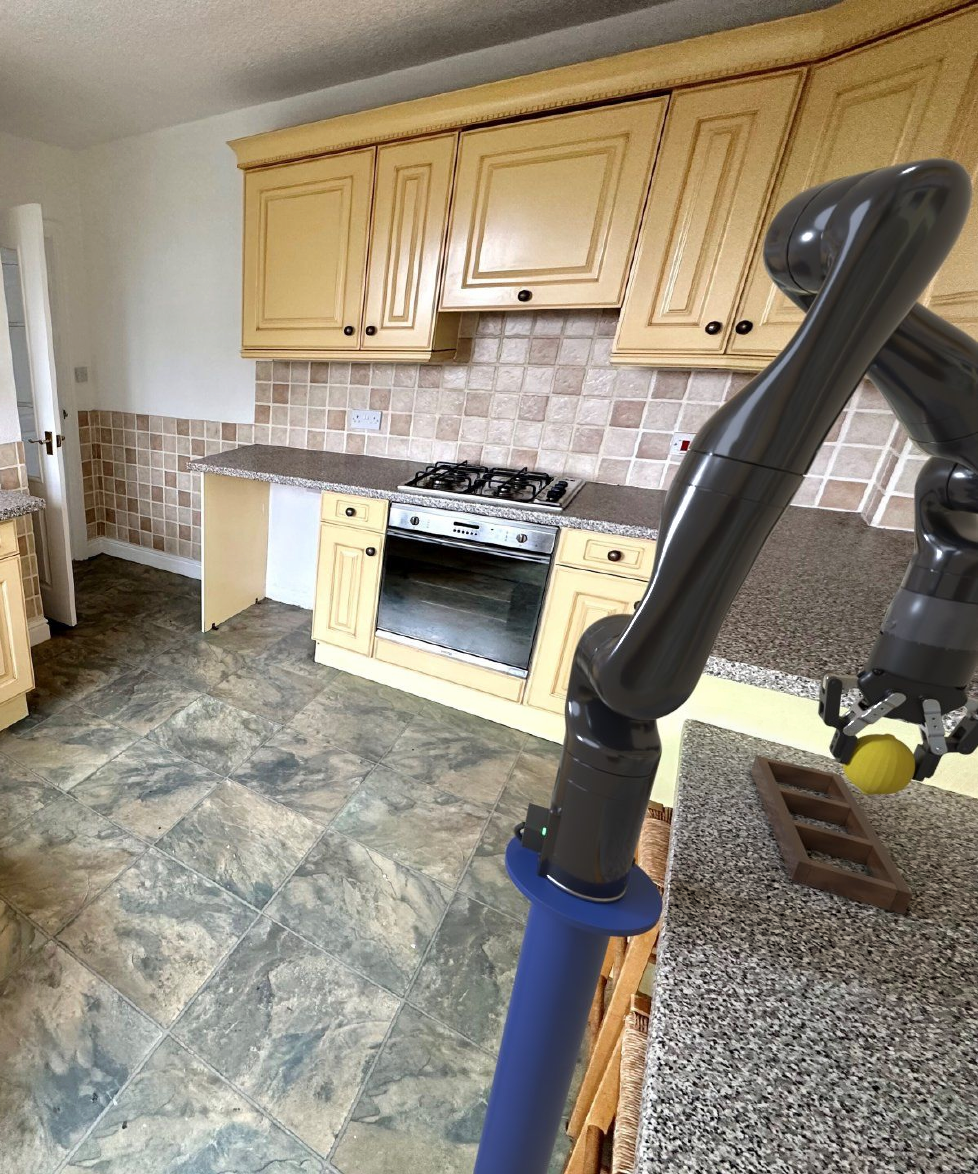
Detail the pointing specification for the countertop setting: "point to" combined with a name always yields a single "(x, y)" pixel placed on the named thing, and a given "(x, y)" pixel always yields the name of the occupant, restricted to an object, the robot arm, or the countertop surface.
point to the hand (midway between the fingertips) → (875, 768)
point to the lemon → (880, 764)
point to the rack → (827, 835)
